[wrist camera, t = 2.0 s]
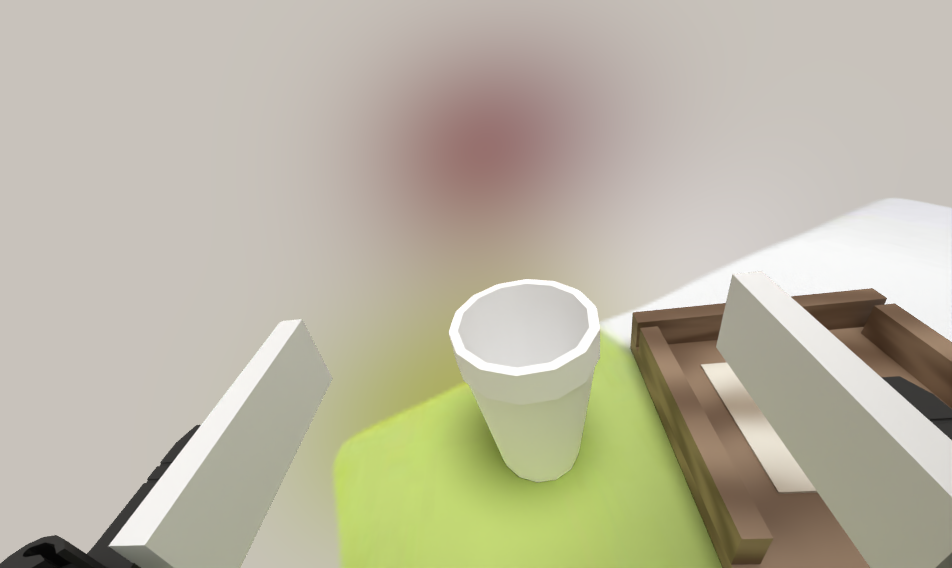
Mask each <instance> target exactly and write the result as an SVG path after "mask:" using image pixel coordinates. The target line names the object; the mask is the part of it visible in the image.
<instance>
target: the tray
mask: <svg viewBox="0 0 952 568" xmlns="http://www.w3.org/2000/svg"><path fill="white" fill-rule="evenodd" d="M792 298H793V299H794V300H795V301H796V302H797V303H798V304H799V305H801V306H802V307H803V308H804V309H805V310H806V311H807V312H808V313H810V314H811V315H812V316H813V317H814V318H815V319H816V320H817V321H818V322H820V323H821V324H822V325H823V326H824V327H825V328H826V329H827V330H829V331H830V332H831V333H832V334H833V335H834V336H835V337H836V338H838V339H839V340H840V341H841V342H842V343H843V344H844V345H845V346H847V347H848V348H849V349H850V350H851V351H852V352H853V353H854V354H855V355H857V356H858V357H859V358H860V359H861V360H862V361H863V362H864V363H866V364H867V365H868V366H869V367H870V368H871V369H872V370H873V371H875V372H876V373H877V374H878V375H879V376H880V377H894V376H900V377H902V378H904V379H906V380H908V381H910V382H912V383H913V384H915V385H917V386H919V387H921V388H923V389H925V390H926V391H928V392H930V393H932V394H934V395H935V396H936V397H937V398H939V399H940V400H941V401H942V402H944V403H945V404H946V405H947V406H948V407H950V408H951V409H952V342H951V341H949V340H948V339H946V338H945V337H943V336H942V335H940V334H939V333H937V332H936V331H934V330H933V329H931V328H930V327H929V326H927V325H926V324H924V323H923V322H921V321H920V320H918V319H917V318H915V317H914V316H912V315H911V314H909V313H908V312H906V311H905V310H903V309H902V308H901V307H899V306H898V305H896V304H886V305H884V304H885V301H886V299H887V298H886V297H884V296H883V295H881V294H880V293H878V292H877V291H876V290H874V289H873V288H871V289H861V290H851V291H841V292H831V293H822V294H812V295H802V296H792ZM725 305H726V303H723V304H713V305H703V306H693V307H683V308H673V309H663V310H653V311H644V312H634V313H633V318H632V334H631V350H632V353H633V355H634V357H635V360H636V362H637V365H638V367H639V369H640V372H641V374H642V376H643V379H644V381H645V384H646V386H647V388H648V391H649V393H650V395H651V398H652V400H653V403H654V405H655V407H656V410H657V412H658V414H659V417H660V419H661V422H662V424H663V426H664V429H665V431H666V434H667V436H668V438H669V441H670V443H671V445H672V448H673V450H674V453H675V455H676V457H677V460H678V462H679V464H680V467H681V469H682V472H683V474H684V476H685V479H686V481H687V483H688V486H689V488H690V491H691V493H692V495H693V498H694V500H695V503H696V505H697V507H698V510H699V512H700V514H701V517H702V519H703V522H704V524H705V526H706V529H707V531H708V533H709V536H710V538H711V541H712V543H713V545H714V548H715V550H716V553H717V555H718V557H719V560H720V562H721V564H722V567H723V568H870V566H869V565H868V564H867V562H866V561H865V559H864V558H863V556H862V555H861V554H860V552H859V551H858V549H857V548H856V546H855V545H854V544H853V542H852V541H851V539H850V538H849V536H848V535H847V534H846V532H845V531H844V529H843V528H842V526H841V525H840V524H839V522H838V521H837V519H836V518H835V516H834V515H833V514H832V512H831V511H830V509H829V508H828V506H827V505H826V504H825V502H824V501H823V499H822V498H821V496H820V495H819V494H818V492H817V491H816V489H815V488H814V486H813V485H812V484H811V482H810V481H809V479H808V478H807V476H806V475H805V473H804V472H803V471H802V469H801V468H800V466H799V465H798V463H797V462H796V461H795V459H794V458H793V456H792V455H791V453H790V452H789V451H788V449H787V448H786V446H785V445H784V443H783V442H782V441H781V439H780V438H779V436H778V435H777V433H776V432H775V431H774V429H773V428H772V426H771V425H770V423H769V422H768V421H767V419H766V418H765V416H764V415H763V413H762V412H761V411H760V409H759V408H758V406H757V405H756V403H755V402H754V401H753V399H752V398H751V396H750V395H749V393H748V392H747V391H746V389H745V388H744V386H743V385H742V383H741V382H740V381H739V379H738V378H737V376H736V375H735V373H734V372H733V371H732V369H731V368H730V366H729V365H728V363H727V362H726V361H725V359H724V358H723V356H722V355H721V353H720V352H719V351H718V349H717V348H716V345H717V340H718V336H719V332H720V327H721V323H722V318H723V314H724V310H725Z"/></svg>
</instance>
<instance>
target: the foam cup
mask: <svg viewBox="0 0 952 568" xmlns="http://www.w3.org/2000/svg"><path fill="white" fill-rule="evenodd" d="M449 335H450V339H451V343H452V347H453V350H454V354H455V358H456V361H457V364H458V366H459V369H460V372H461V375H462V377H463V380H464V381H465V382H466V383H467V384H469V386H470V388H471V390H472V392H473V395H474V397H475V399H476V401H477V403H478V406H479V408H480V410H481V412H482V414H483V416H484V419H485V421H486V423H487V425H488V427H489V429H490V432H491V434H492V436H493V438H494V440H495V442H496V445H497V447H498V449H499V451H500V453H501V455H502V458H503V460H504V462H505V463H506V466H507V467H509V468H510V469H511V470H512V471H513V472H514V473H515V474H517V475H518V476H519V477H521V478H524V479H528V480H531V481H535V482H543V481H550V480H556V479H558V478H559V477H561V476H562V475H563V474H565V473H566V472H568V471H569V470H571V468H572V466H573V464H574V462H575V460H576V458H577V456H578V452H579V450H580V445H581V439H582V434H583V428H584V423H585V417H586V412H587V407H588V401H589V396H590V390H591V385H592V379H593V374H594V368H595V366H596V364H597V362H598V360H599V359H600V326H599V320H598V314H597V307H596V306H595V305H594V304H593V303H592V302H591V301H590V300H589V299H588V298H587V297H586V296H585V295H584V294H583V293H582V292H581V291H579V290H577V289H574V288H572V287H569V286H566V285H564V284H561V283H558V282H556V281H545V280H530V279H524V280H519V281H513V282H507V283H502V284H497V285H495V286H493V287H491V288H488V289H486V290H484V291H482V292H480V293H477V294H475V295H474V296H472V297H471V298H470V299H469V300H468V301H467V302H466V303H465V304H464V305H463V306H461V307H460V308H459V309H458V310H457V311H456V312H455V315H454V318H453V321H452V324H451V327H450V330H449Z"/></svg>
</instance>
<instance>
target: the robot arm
mask: <svg viewBox="0 0 952 568" xmlns="http://www.w3.org/2000/svg"><path fill="white" fill-rule="evenodd" d="M716 348H717V349H718V351H719V352H720V353H721V355H722V356H723V358H724V359H725V361H726V362H727V363H728V365H729V366H730V368H731V369H732V371H733V372H734V373H735V375H736V376H737V378H738V379H739V381H740V382H741V383H742V385H743V386H744V388H745V389H746V391H747V392H748V393H749V395H750V396H751V398H752V399H753V401H754V402H755V403H756V405H757V406H758V408H759V409H760V411H761V412H762V413H763V415H764V416H765V418H766V419H767V421H768V422H769V423H770V425H771V426H772V428H773V429H774V431H775V432H776V433H777V435H778V436H779V438H780V439H781V441H782V442H783V443H784V445H785V446H786V448H787V449H788V451H789V452H790V453H791V455H792V456H793V458H794V459H795V461H796V462H797V463H798V465H799V466H800V468H801V469H802V471H803V472H804V473H805V475H806V476H807V478H808V479H809V481H810V482H811V484H812V485H813V486H814V488H815V489H816V491H817V492H818V494H819V495H820V496H821V498H822V499H823V501H824V502H825V504H826V505H827V506H828V508H829V509H830V511H831V512H832V514H833V515H834V516H835V518H836V519H837V521H838V522H839V524H840V525H841V526H842V528H843V529H844V531H845V532H846V534H847V535H848V536H849V538H850V539H851V541H852V542H853V544H854V545H855V546H856V548H857V549H858V551H859V552H860V554H861V555H862V556H863V558H864V559H865V561H866V562H867V564H868V565H869V566H870V568H952V409H951V408H950V407H948V406H947V405H946V404H945V403H944V402H942V401H941V400H940V399H939V398H937V397H936V396H935V395H934V394H932V393H930V392H928V391H926V390H925V389H923V388H921V387H919V386H917V385H915V384H913V383H912V382H910V381H908V380H906V379H904V378H902V377H900V376H894V377H880V376H879V375H878V374H877V373H876V372H875V371H873V370H872V369H871V368H870V367H869V366H868V365H867V364H866V363H864V362H863V361H862V360H861V359H860V358H859V357H858V356H857V355H855V354H854V353H853V352H852V351H851V350H850V349H849V348H848V347H847V346H845V345H844V344H843V343H842V342H841V341H840V340H839V339H838V338H836V337H835V336H834V335H833V334H832V333H831V332H830V331H829V330H827V329H826V328H825V327H824V326H823V325H822V324H821V323H820V322H818V321H817V320H816V319H815V318H814V317H813V316H812V315H811V314H810V313H808V312H807V311H806V310H805V309H804V308H803V307H802V306H801V305H799V304H798V303H797V302H796V301H795V300H794V299H793V298H792V297H790V296H789V295H788V294H787V293H786V292H785V291H784V290H783V289H781V288H780V287H779V286H778V285H777V284H776V283H775V282H774V281H772V280H771V279H770V278H769V277H768V276H767V275H766V274H765V273H764V272H762V271H758V272H748V273H739V274H733V275H732V279H731V283H730V288H729V292H728V297H727V301H726V305H725V310H724V314H723V318H722V323H721V327H720V332H719V336H718V340H717V345H716ZM331 381H332V376H331V374H330V372H329V370H328V368H327V367H326V365H325V363H324V361H323V359H322V357H321V355H320V353H319V351H318V349H317V347H316V345H315V343H314V341H313V339H312V337H311V336H310V333H309V331H308V329H307V328H306V325H305V323H304V321H303V320H302V319H298V320H289V321H281V322H280V323H279V324H278V326H277V327H276V328H275V329H274V331H273V332H272V333H271V335H270V336H269V337H268V339H267V340H266V341H265V343H264V344H263V345H262V346H261V348H260V349H259V350H258V352H257V353H256V354H255V356H254V357H253V358H252V360H251V361H250V362H249V363H248V365H247V366H246V367H245V369H244V370H243V371H242V372H241V374H240V375H239V376H238V378H237V379H236V380H235V382H234V383H233V385H232V386H231V387H230V388H229V389H228V391H227V392H226V393H225V395H224V396H223V397H222V399H221V400H220V401H219V402H218V404H217V405H216V406H215V408H214V409H213V410H212V412H211V413H210V414H209V416H208V417H207V418H206V420H205V421H204V422H203V423H202V425H196V426H195V427H194V428H193V429H192V430H190V431H189V432H188V433H187V434H186V435H185V436H184V437H182V438H181V439H180V440H179V441H178V442H176V444H175V445H174V446H173V448H172V449H171V450H170V451H169V452H168V454H167V455H166V456H165V457H164V459H163V460H162V461H161V465H160V466H158V467H156V469H155V470H154V471H153V472H152V474H151V475H150V476H149V477H148V479H147V480H148V481H147V483H144V484H143V485H142V486H141V488H140V489H139V490H138V491H137V493H136V494H135V495H134V496H133V498H132V499H131V500H130V501H129V503H128V504H127V505H126V507H125V508H124V509H123V510H122V511H121V513H120V514H119V515H118V516H117V518H116V519H115V520H114V522H113V523H112V524H111V525H110V527H109V528H108V529H107V530H106V532H105V533H104V534H103V535H102V537H101V538H100V539H99V540H98V542H97V543H96V544H95V545H94V547H93V548H92V549H91V550H90V551H89V552H88V553H87V554H85V553H84V552H82V551H81V550H79V549H78V548H76V547H75V546H73V545H72V544H70V543H69V542H67V541H65V540H64V539H62V538H60V537H59V536H56V535H55V536H48V537H43V538H40V539H38V540H36V541H34V542H32V543H29V544H28V545H25V546H24V547H23V548H21V549H19V550H18V551H16V552H15V553H13V554H12V555H10V556H9V557H8V558H7V559H5V560H4V561H3V562H2V563H1V564H0V568H240V567H241V565H242V563H243V561H244V559H245V557H246V555H247V553H248V551H249V549H250V547H251V545H252V543H253V541H254V538H255V536H256V534H257V532H258V530H259V528H260V526H261V524H262V522H263V520H264V518H265V516H266V514H267V511H268V510H269V507H270V506H271V504H272V502H273V500H274V497H275V495H276V493H277V491H278V489H279V487H280V485H281V483H282V481H283V479H284V477H285V475H286V473H287V471H288V469H289V467H290V465H291V463H292V460H293V458H294V456H295V454H296V452H297V450H298V448H299V446H300V444H301V442H302V440H303V438H304V436H305V434H306V432H307V430H308V428H309V425H310V423H311V422H312V419H313V417H314V415H315V413H316V411H317V409H318V407H319V405H320V403H321V401H322V399H323V396H324V395H325V393H326V391H327V389H328V387H329V385H330V383H331Z"/></svg>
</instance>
